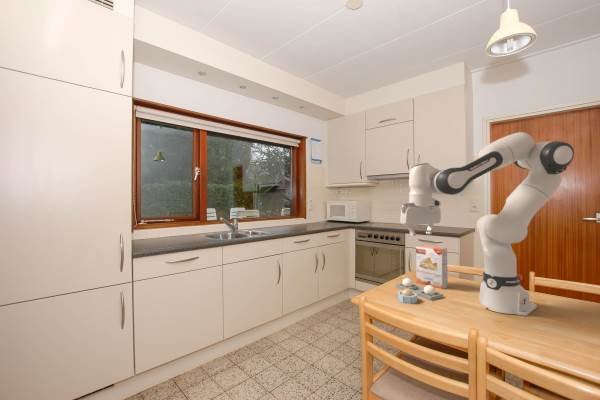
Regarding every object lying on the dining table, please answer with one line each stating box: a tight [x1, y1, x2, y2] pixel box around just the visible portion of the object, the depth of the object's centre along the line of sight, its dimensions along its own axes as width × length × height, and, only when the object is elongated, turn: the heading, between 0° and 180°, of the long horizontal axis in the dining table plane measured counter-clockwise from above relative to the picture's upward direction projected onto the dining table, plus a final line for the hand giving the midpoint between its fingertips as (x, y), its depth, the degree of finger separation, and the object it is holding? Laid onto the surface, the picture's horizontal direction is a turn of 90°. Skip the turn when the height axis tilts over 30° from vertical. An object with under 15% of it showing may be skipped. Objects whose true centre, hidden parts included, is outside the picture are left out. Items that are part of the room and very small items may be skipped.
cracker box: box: [415, 244, 448, 290], centre depth 142 cm, size 14×6×21 cm, turn 36°
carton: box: [395, 282, 444, 301], centre depth 132 cm, size 8×21×2 cm, turn 25°
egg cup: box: [397, 289, 418, 305], centre depth 122 cm, size 8×8×4 cm
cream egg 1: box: [401, 277, 414, 288], centre depth 138 cm, size 5×5×5 cm
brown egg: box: [401, 289, 413, 296], centre depth 122 cm, size 5×5×5 cm
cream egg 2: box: [423, 285, 436, 296], centre depth 126 cm, size 5×5×5 cm
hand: (420, 235), depth 114 cm, fingers open, 8 cm apart
